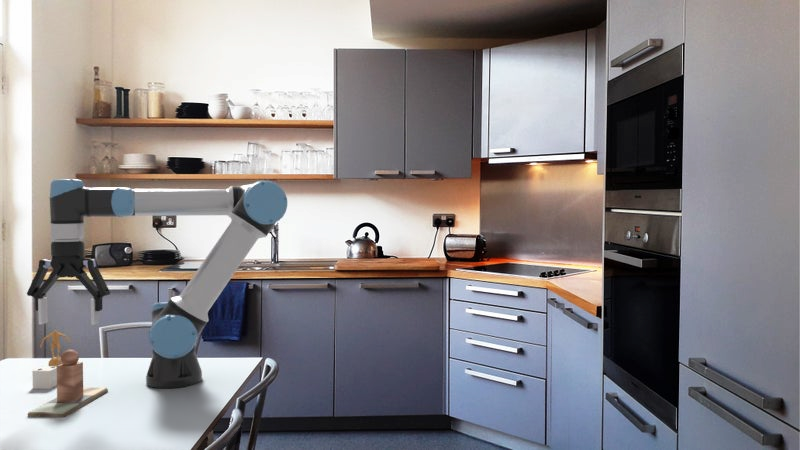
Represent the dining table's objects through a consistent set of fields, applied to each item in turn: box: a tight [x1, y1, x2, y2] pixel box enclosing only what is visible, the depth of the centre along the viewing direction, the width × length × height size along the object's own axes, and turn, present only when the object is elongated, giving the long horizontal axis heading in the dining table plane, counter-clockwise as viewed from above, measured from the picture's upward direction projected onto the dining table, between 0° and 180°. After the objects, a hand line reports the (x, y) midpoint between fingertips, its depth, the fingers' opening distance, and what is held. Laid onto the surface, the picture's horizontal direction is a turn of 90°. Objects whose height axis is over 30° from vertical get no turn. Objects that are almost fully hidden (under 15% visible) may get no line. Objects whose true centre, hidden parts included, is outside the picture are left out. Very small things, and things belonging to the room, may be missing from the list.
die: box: [31, 365, 57, 390], centre depth 182 cm, size 5×5×5 cm
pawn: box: [56, 349, 84, 402], centre depth 165 cm, size 4×4×13 cm
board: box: [27, 386, 109, 418], centre depth 165 cm, size 9×21×1 cm, turn 177°
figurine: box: [39, 329, 71, 366], centre depth 200 cm, size 8×6×12 cm
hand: (69, 323), depth 165 cm, fingers open, 13 cm apart
